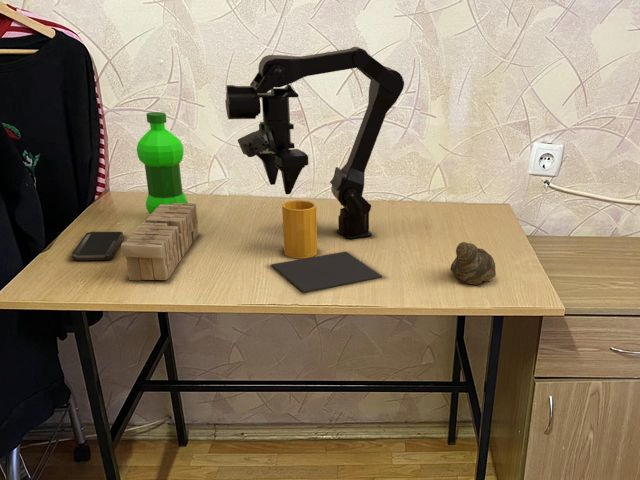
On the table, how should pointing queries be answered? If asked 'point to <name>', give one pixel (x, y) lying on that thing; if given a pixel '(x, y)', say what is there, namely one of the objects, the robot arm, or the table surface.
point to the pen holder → (299, 229)
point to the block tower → (161, 241)
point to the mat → (325, 271)
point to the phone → (98, 246)
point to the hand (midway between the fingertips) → (280, 189)
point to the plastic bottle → (161, 163)
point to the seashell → (473, 264)
